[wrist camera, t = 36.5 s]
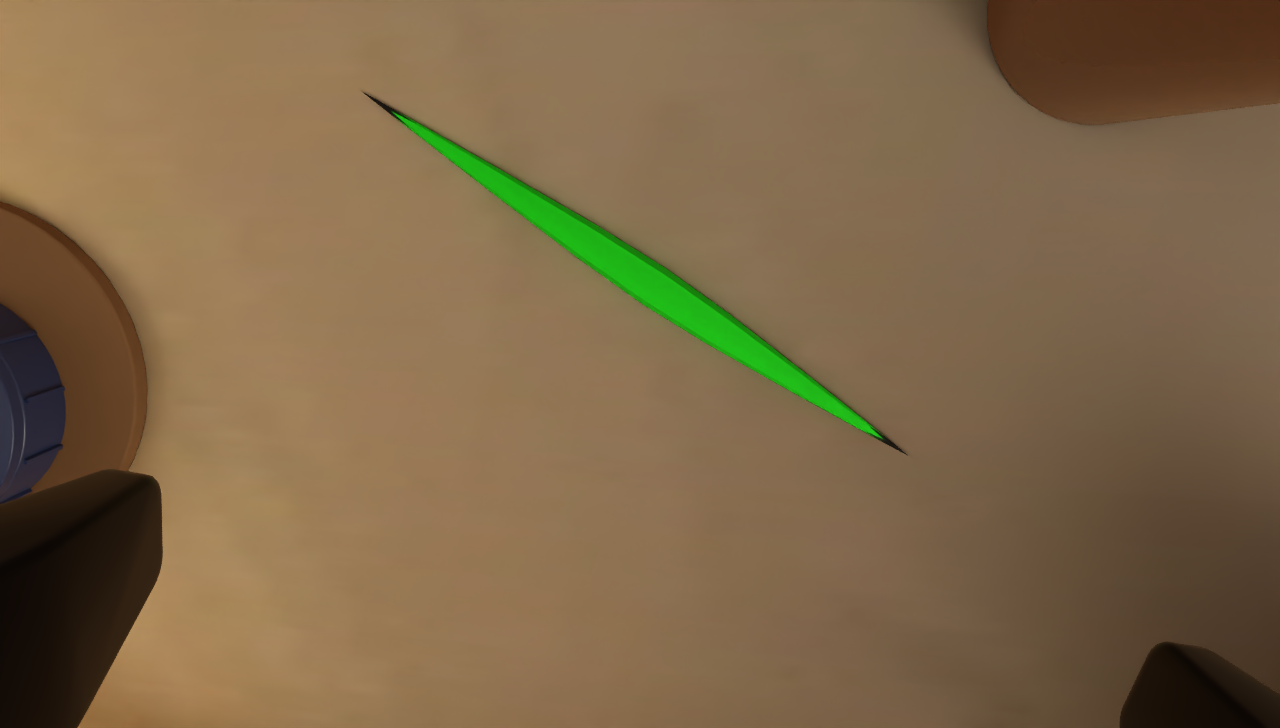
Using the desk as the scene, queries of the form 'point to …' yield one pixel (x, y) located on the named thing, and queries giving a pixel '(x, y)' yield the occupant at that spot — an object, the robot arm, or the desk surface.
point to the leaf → (642, 278)
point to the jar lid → (27, 408)
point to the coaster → (76, 344)
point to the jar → (1137, 56)
